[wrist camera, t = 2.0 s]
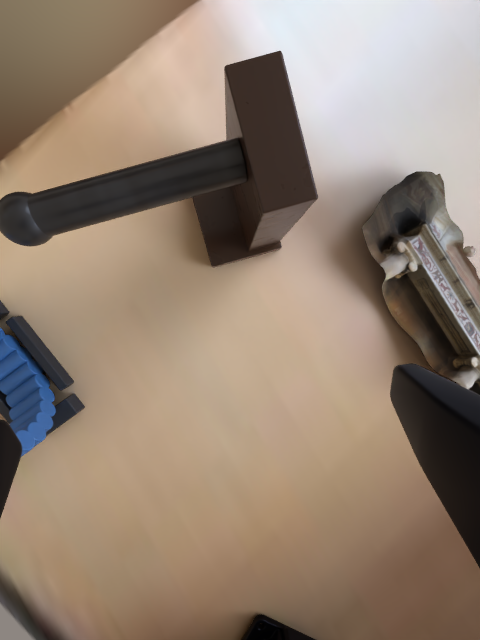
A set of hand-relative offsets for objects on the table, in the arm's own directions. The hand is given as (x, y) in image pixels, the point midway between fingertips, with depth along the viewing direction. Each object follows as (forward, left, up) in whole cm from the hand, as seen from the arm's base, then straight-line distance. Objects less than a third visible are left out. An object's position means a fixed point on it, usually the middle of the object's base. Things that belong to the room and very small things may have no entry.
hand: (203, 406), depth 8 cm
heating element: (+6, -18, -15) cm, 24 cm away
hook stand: (+5, +5, -15) cm, 16 cm away
